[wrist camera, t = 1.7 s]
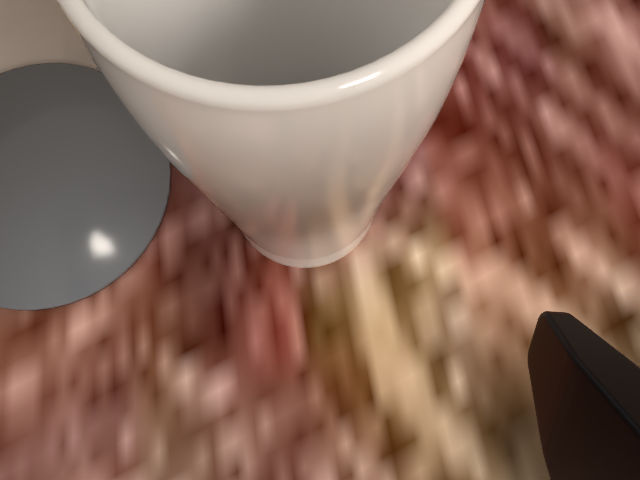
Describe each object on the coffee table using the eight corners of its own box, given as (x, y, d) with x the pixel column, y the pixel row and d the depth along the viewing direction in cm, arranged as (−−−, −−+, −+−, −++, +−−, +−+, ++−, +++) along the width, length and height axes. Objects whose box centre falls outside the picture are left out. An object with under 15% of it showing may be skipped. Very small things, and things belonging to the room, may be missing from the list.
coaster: (59, 363, 21) (55, 363, 21) (-140, 216, 23) (-146, 214, 22) (222, 149, 23) (220, 146, 23) (29, 25, 24) (25, 20, 24)
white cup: (230, 304, 22) (34, 149, 7) (207, 136, 23) (10, -272, 9) (409, 274, 22) (575, 64, 7) (375, 110, 23) (457, -334, 9)
